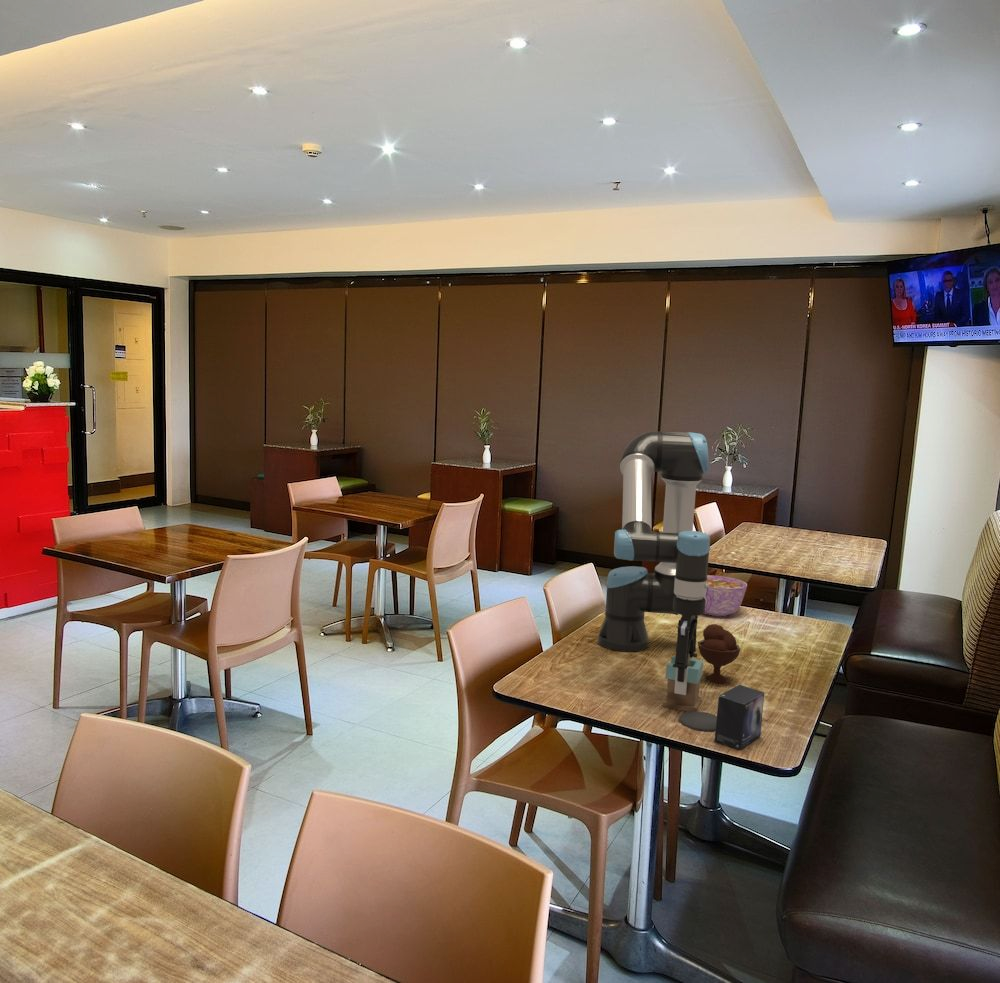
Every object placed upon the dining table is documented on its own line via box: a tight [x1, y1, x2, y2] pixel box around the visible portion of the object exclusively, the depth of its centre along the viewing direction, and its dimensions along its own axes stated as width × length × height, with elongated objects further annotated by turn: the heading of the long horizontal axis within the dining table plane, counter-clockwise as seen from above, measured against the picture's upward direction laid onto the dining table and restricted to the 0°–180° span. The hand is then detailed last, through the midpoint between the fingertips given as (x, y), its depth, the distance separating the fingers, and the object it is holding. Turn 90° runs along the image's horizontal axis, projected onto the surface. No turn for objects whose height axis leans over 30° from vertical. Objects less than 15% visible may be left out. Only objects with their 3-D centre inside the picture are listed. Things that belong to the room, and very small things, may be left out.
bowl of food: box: [704, 574, 748, 617], centre depth 277 cm, size 20×20×12 cm
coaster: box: [678, 711, 717, 732], centre depth 181 cm, size 10×10×1 cm
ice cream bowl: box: [697, 623, 741, 685], centre depth 209 cm, size 11×11×15 cm
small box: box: [713, 684, 765, 750], centre depth 172 cm, size 11×6×10 cm, turn 138°
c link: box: [665, 655, 704, 684], centre depth 191 cm, size 8×8×4 cm
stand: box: [662, 654, 703, 712], centre depth 191 cm, size 8×8×12 cm
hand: (683, 688), depth 191 cm, fingers closed on c link, 7 cm apart
